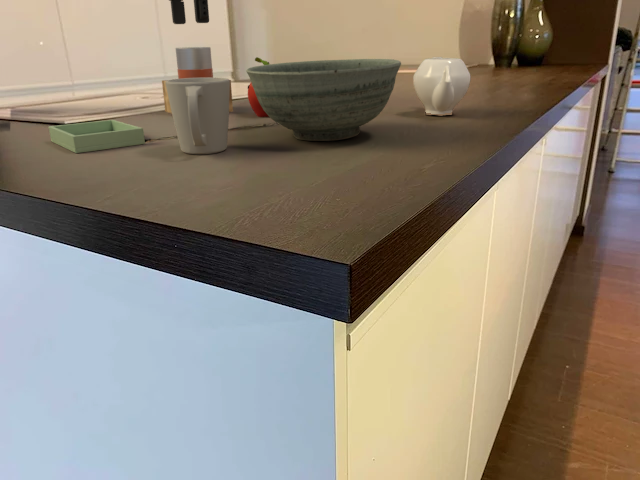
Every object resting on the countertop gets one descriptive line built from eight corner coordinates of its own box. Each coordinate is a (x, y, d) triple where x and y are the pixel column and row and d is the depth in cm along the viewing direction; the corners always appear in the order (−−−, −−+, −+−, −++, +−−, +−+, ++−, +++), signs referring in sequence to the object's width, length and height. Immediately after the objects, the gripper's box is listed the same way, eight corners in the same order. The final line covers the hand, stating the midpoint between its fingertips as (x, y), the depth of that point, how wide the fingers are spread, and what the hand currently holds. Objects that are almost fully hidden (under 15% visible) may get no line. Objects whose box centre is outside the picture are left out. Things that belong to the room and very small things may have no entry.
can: (176, 111, 99) (169, 47, 95) (205, 108, 102) (200, 46, 98) (191, 114, 94) (185, 48, 90) (222, 111, 98) (217, 47, 94)
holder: (165, 114, 99) (161, 80, 97) (209, 110, 104) (206, 77, 102) (188, 119, 92) (184, 83, 90) (233, 114, 98) (230, 79, 96)
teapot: (415, 123, 85) (418, 61, 82) (408, 107, 104) (411, 56, 101) (476, 123, 84) (482, 61, 81) (459, 107, 103) (463, 56, 100)
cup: (236, 143, 71) (232, 76, 68) (230, 159, 62) (225, 83, 59) (178, 145, 71) (171, 78, 68) (164, 161, 62) (154, 84, 59)
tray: (51, 141, 75) (48, 126, 74) (115, 133, 80) (113, 119, 80) (76, 153, 67) (73, 136, 66) (145, 143, 72) (143, 128, 72)
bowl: (429, 140, 72) (434, 61, 68) (288, 157, 63) (285, 68, 59) (349, 120, 89) (349, 57, 85) (229, 132, 80) (223, 61, 76)
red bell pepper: (296, 118, 93) (294, 56, 89) (267, 123, 88) (264, 58, 84) (265, 114, 97) (262, 56, 94) (237, 119, 93) (232, 57, 89)
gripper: (140, -80, 90) (152, 24, 96) (179, -96, 80) (190, 22, 85) (181, -75, 94) (191, 24, 100) (223, -90, 84) (231, 22, 90)
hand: (190, 23), depth 93 cm, fingers open, 8 cm apart
